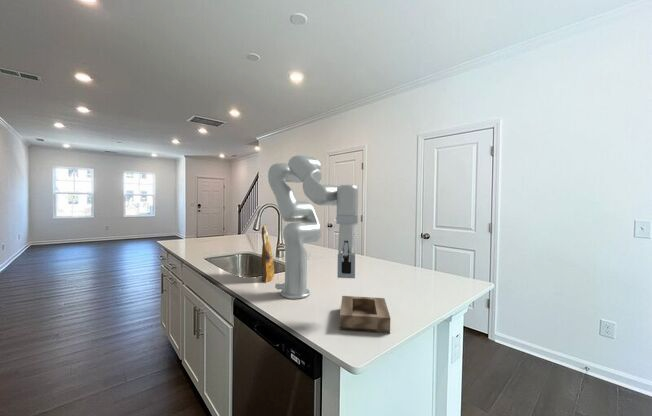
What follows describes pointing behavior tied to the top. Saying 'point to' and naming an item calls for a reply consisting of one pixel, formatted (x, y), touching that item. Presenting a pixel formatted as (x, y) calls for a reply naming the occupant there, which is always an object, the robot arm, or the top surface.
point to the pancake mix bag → (266, 257)
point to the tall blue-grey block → (352, 260)
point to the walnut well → (364, 314)
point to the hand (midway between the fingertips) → (346, 271)
